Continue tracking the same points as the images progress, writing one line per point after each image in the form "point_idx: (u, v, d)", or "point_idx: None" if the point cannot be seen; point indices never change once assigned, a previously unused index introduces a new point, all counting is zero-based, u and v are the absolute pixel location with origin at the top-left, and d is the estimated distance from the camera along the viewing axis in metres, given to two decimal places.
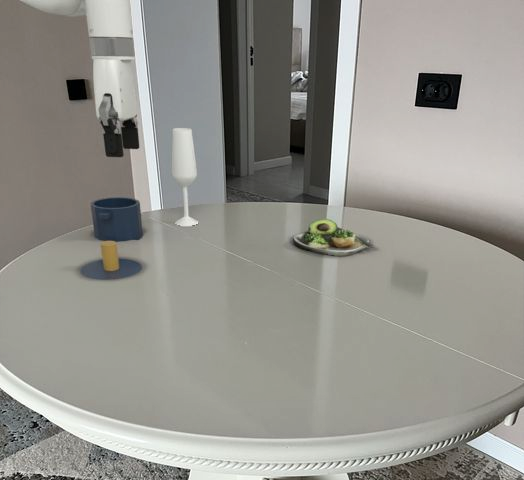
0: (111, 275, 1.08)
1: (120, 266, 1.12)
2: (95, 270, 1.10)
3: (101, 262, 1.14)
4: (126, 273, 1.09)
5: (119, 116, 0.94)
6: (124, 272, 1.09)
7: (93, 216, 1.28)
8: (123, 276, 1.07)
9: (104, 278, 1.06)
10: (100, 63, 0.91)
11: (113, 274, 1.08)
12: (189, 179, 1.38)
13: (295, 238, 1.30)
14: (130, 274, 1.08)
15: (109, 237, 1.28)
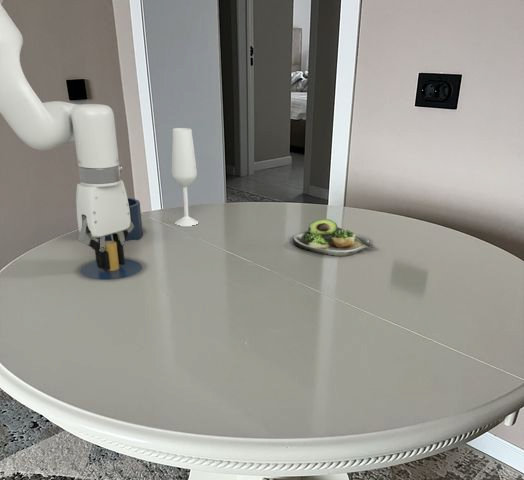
0: (111, 275, 1.08)
1: (120, 266, 1.12)
2: (95, 270, 1.10)
3: None
4: (126, 273, 1.09)
5: (92, 234, 1.03)
6: (124, 272, 1.09)
7: None
8: (123, 276, 1.07)
9: (104, 278, 1.06)
10: (79, 189, 1.00)
11: (113, 274, 1.08)
12: (189, 179, 1.38)
13: (295, 238, 1.30)
14: (130, 274, 1.08)
15: (109, 237, 1.28)
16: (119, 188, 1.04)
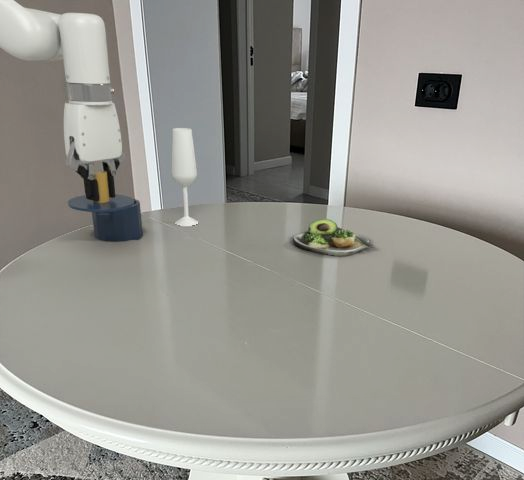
0: (100, 206, 1.01)
1: (110, 199, 1.06)
2: (84, 202, 1.03)
3: None
4: (116, 205, 1.02)
5: (80, 158, 0.96)
6: (114, 204, 1.03)
7: (93, 216, 1.28)
8: (113, 207, 1.01)
9: (93, 208, 1.00)
10: (66, 107, 0.93)
11: (103, 205, 1.02)
12: (189, 179, 1.38)
13: (295, 238, 1.30)
14: (121, 206, 1.02)
15: (109, 237, 1.28)
16: (110, 110, 0.97)
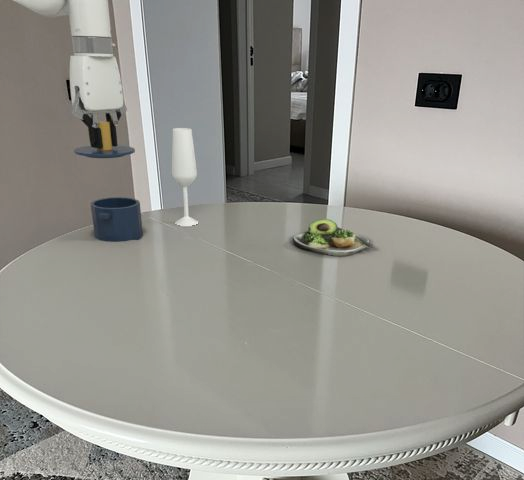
0: (104, 152, 1.11)
1: (113, 148, 1.15)
2: (88, 150, 1.13)
3: None
4: (118, 152, 1.11)
5: (85, 106, 1.06)
6: (117, 151, 1.12)
7: (93, 216, 1.28)
8: (115, 153, 1.10)
9: (97, 153, 1.09)
10: (72, 59, 1.03)
11: (106, 152, 1.11)
12: (189, 179, 1.38)
13: (295, 238, 1.30)
14: (122, 152, 1.11)
15: (109, 237, 1.28)
16: (112, 63, 1.07)
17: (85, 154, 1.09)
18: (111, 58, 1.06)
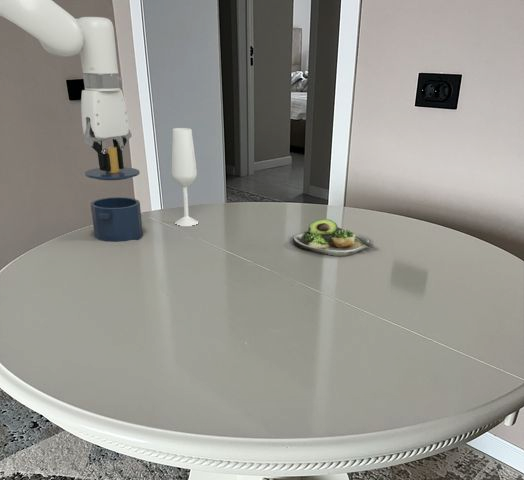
0: (112, 175, 1.23)
1: (120, 170, 1.28)
2: (98, 172, 1.25)
3: None
4: (125, 174, 1.24)
5: (95, 135, 1.18)
6: (123, 173, 1.25)
7: (93, 216, 1.28)
8: (122, 175, 1.23)
9: (106, 176, 1.21)
10: (83, 93, 1.15)
11: (114, 174, 1.24)
12: (189, 179, 1.38)
13: (295, 238, 1.30)
14: (128, 174, 1.24)
15: (109, 237, 1.28)
16: (118, 95, 1.19)
17: (95, 177, 1.21)
18: (118, 91, 1.19)
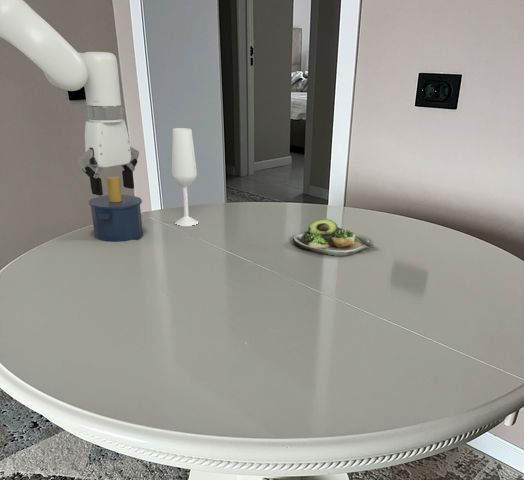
0: (115, 204, 1.26)
1: (122, 199, 1.31)
2: (101, 201, 1.29)
3: (106, 197, 1.33)
4: (127, 203, 1.27)
5: (98, 165, 1.21)
6: (126, 203, 1.28)
7: (93, 216, 1.28)
8: (125, 205, 1.26)
9: (109, 206, 1.25)
10: (87, 125, 1.18)
11: (117, 204, 1.27)
12: (189, 179, 1.38)
13: (295, 238, 1.30)
14: (131, 204, 1.27)
15: (109, 237, 1.28)
16: (121, 126, 1.22)
17: (99, 207, 1.25)
18: (121, 122, 1.22)
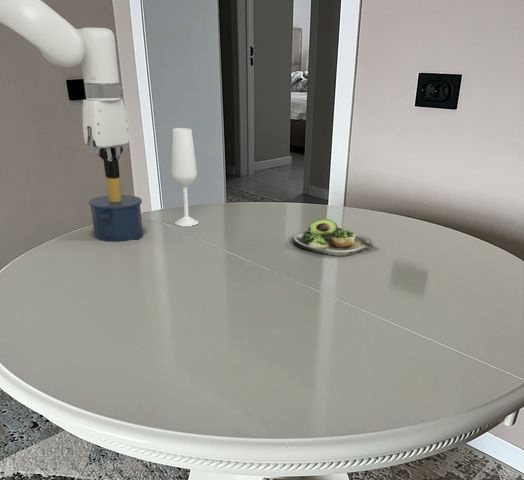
0: (115, 204, 1.26)
1: (122, 199, 1.31)
2: (101, 201, 1.29)
3: (106, 197, 1.33)
4: (127, 203, 1.27)
5: (96, 144, 1.19)
6: (126, 203, 1.28)
7: (93, 216, 1.28)
8: (125, 205, 1.26)
9: (109, 206, 1.25)
10: (85, 103, 1.16)
11: (117, 204, 1.27)
12: (189, 179, 1.38)
13: (295, 238, 1.30)
14: (131, 204, 1.27)
15: (109, 237, 1.28)
16: (119, 105, 1.20)
17: (99, 207, 1.25)
18: (119, 101, 1.20)
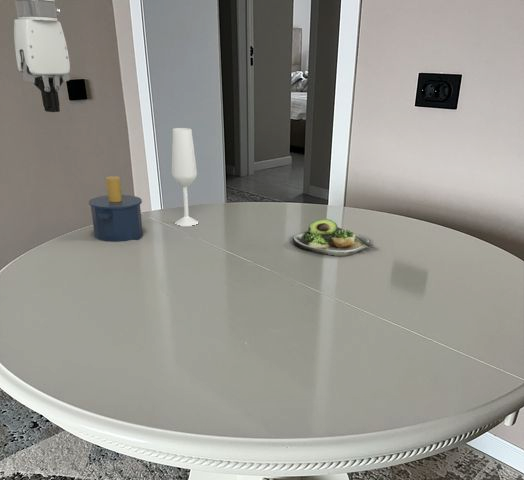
0: (115, 204, 1.26)
1: (122, 199, 1.31)
2: (101, 201, 1.29)
3: (106, 197, 1.33)
4: (127, 203, 1.27)
5: (30, 70, 1.08)
6: (126, 203, 1.28)
7: (93, 216, 1.28)
8: (125, 205, 1.26)
9: (109, 206, 1.25)
10: (16, 23, 1.06)
11: (117, 204, 1.27)
12: (189, 179, 1.38)
13: (295, 238, 1.30)
14: (131, 204, 1.27)
15: (109, 237, 1.28)
16: (56, 27, 1.09)
17: (99, 207, 1.25)
18: (55, 23, 1.09)
